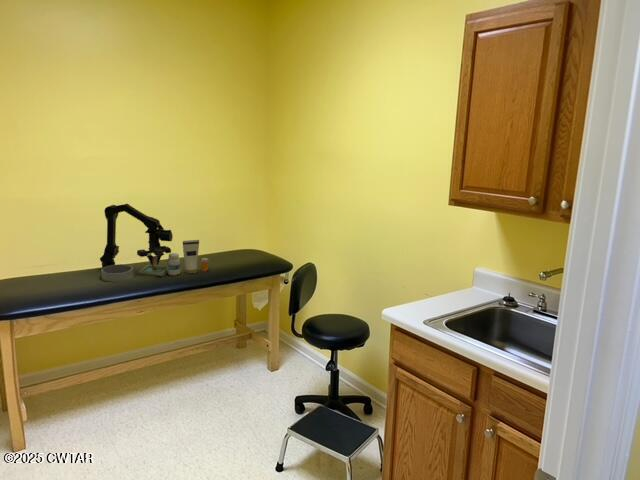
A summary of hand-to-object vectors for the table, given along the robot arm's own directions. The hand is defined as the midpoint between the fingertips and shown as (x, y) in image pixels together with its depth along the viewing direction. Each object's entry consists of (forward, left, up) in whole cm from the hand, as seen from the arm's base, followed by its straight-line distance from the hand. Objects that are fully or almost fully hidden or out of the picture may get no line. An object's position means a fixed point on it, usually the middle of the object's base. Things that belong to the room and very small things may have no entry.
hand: (154, 265), depth 271 cm
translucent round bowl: (-16, -14, -5) cm, 22 cm away
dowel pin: (0, 0, -3) cm, 3 cm away
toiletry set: (+19, +6, -5) cm, 20 cm away
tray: (0, 0, -5) cm, 5 cm away
